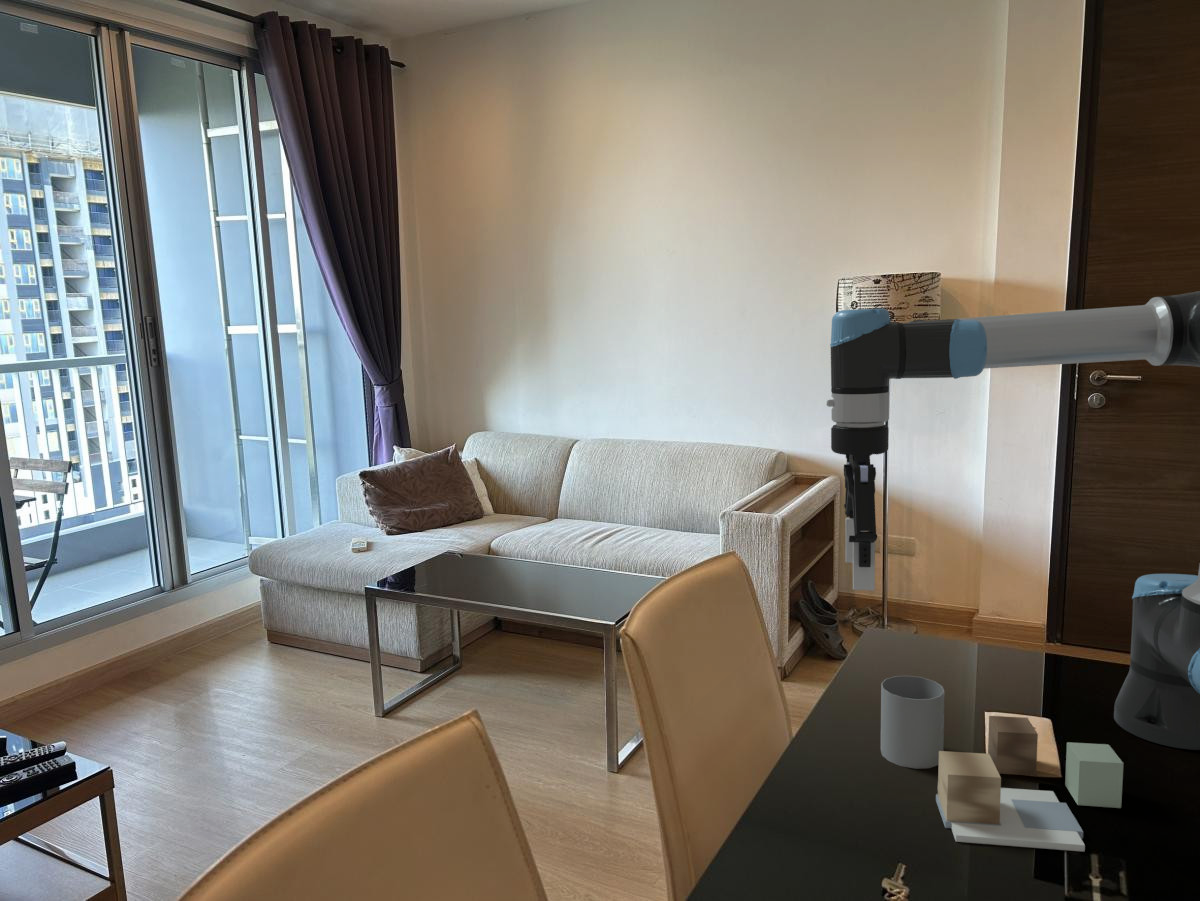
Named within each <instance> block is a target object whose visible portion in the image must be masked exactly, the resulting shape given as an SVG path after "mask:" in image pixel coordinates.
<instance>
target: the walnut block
mask: <svg viewBox="0 0 1200 901" xmlns="http://www.w3.org/2000/svg"><path fill="white" fill-rule="evenodd" d="M987 735H988V740H987V741H988V742H987V754H989V755H990V757H991V759H992V761H993V763H994V765H995V767H996V769H997V771H998V773H999V775H1002V774H1003V775H1017V776H1018V775H1021V776H1035V777H1036V776H1037V764H1038V763H1037V762H1038V761H1037V760H1038V740H1039V739H1038V738H1039V736H1038V735H1039V734H1038V732H1037V730H1036V729H1035V727H1034V726H1033V724H1032V723H1031V721H1030V720H1029V718H1028V717H1020V716H1005V715H1003V716H1001V715H1000V716H999V715H988V734H987Z"/></svg>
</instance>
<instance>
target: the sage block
mask: <svg viewBox="0 0 1200 901" xmlns="http://www.w3.org/2000/svg"><path fill="white" fill-rule="evenodd" d="M1065 753H1066V755H1065V758H1066V760H1065V774H1064V775H1065V778H1064V779H1065V780H1064V781H1065V782H1064V785H1065V788H1067V790H1068V792H1069V793H1070V795H1071V797H1072V798H1073V800H1074V801H1075V803H1076V805H1077V806H1087V807H1088V806H1089V807H1099V808H1100V807H1102V808H1116V809H1121V808H1122V800H1123V799H1122V798H1123V780H1124V762H1123V761H1122V759H1121V758H1120V757H1119V755H1117V753H1116V752H1115V750H1114V749H1113V748H1112V747H1111V745H1109V744H1106V743H1088V742H1087V743H1085V742H1069V741H1068V742H1066V752H1065Z"/></svg>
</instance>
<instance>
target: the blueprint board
mask: <svg viewBox="0 0 1200 901" xmlns="http://www.w3.org/2000/svg"><path fill="white" fill-rule="evenodd" d="M935 802H936V805H937V807H938V811H939V813H940V816H941V820H942V822H943V825H944V828H945V829H951V831H952V834H953V835H952V836H953V838H954V840H955V842H957V843H958V842H959V843H968V844H969V843H970V844H982V845H995V846H1006V847H1007V846H1008V847H1009V846H1010V847H1019V848H1020V847H1021V848H1034V849H1047V850H1059V851H1072V852H1083V853H1084V852H1086V851H1085V850H1086V845H1085V843H1084V841H1083V839H1084V831H1083V829H1082V827H1081V826H1080V824H1079V822H1078V820H1077V818H1076V817H1075V815H1074V814H1073V813H1072V811H1071V809H1070V807H1069V806H1068V804H1067V802H1060V801H1059V799H1058V797H1057V795H1056V793H1055V792H1054V790H1042V789H1041V790H1040V789H1038V790H1036V789H1026V788H1025V789H1024V788H1011V787H1010V788H1009V787H1001V794H1000V825H998V824H984V823H971V822H957V821H947V820H946V817H945V814H944V811H943V808H942V805H941V803H940V800H939V797H938V793H936V794H935Z"/></svg>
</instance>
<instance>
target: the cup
mask: <svg viewBox="0 0 1200 901" xmlns="http://www.w3.org/2000/svg"><path fill="white" fill-rule="evenodd" d="M880 686H881V687H880V688H881V689H880V691H881V692H880V753H881V756H882V757H883V758H885V759H886V760H887V761H888V762H890V763H892V764H894V765H897V766H900V767H903V768H908V769H916V770H918V769H931V768H933V767H936V766H939V751H944V740H945V739H944V736H945V735H944V732H945V696H946V694H945V690H944V687H943V685H941V684H939V683H938V682H936V681H935V680H932V679H928V678H926V677H922V676H914V675H896V676H895V675H894V676H892V677H889V678H888V677H887V678H885V679H884V680H883V681H882V682H881V685H880Z"/></svg>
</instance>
